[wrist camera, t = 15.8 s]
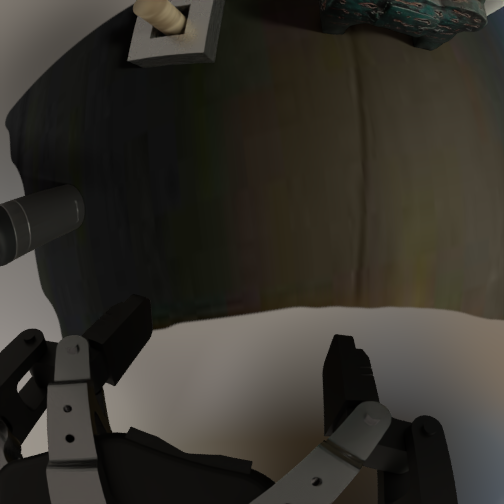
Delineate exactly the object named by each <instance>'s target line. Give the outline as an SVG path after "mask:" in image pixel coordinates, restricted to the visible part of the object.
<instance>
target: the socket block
mask: <svg viewBox="0 0 504 504" xmlns="http://www.w3.org/2000/svg"><path fill="white" fill-rule="evenodd" d="M168 1H169V2H170V3H171V4H172V5H173V6H174V7H176V8H177V9H178V10H179V11H180V12H181V13H182V14H183V15H184V16H185V17H186V18H187V24H186V29H185V34H181V35H173V36H166V35H165V34H164V33H162V32H161V31H159V30H158V29H157V28H155V27H154V26H152V25H151V24H149V23H148V22H146V21H145V20H144V19H142V18H141V17H139V16H138V17H137V20H136V24H135V28H134V32H133V37H132V41H131V46H130V51H129V55H128V61H129V62H131V63H134V64H136V65H138V66H141V67H143V68H147V67H155V66H164V65H175V64H190V63H214V62H215V56H216V49H217V43H218V37H219V31H220V26H221V20H222V15H223V9H224V4H225V0H168Z"/></svg>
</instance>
